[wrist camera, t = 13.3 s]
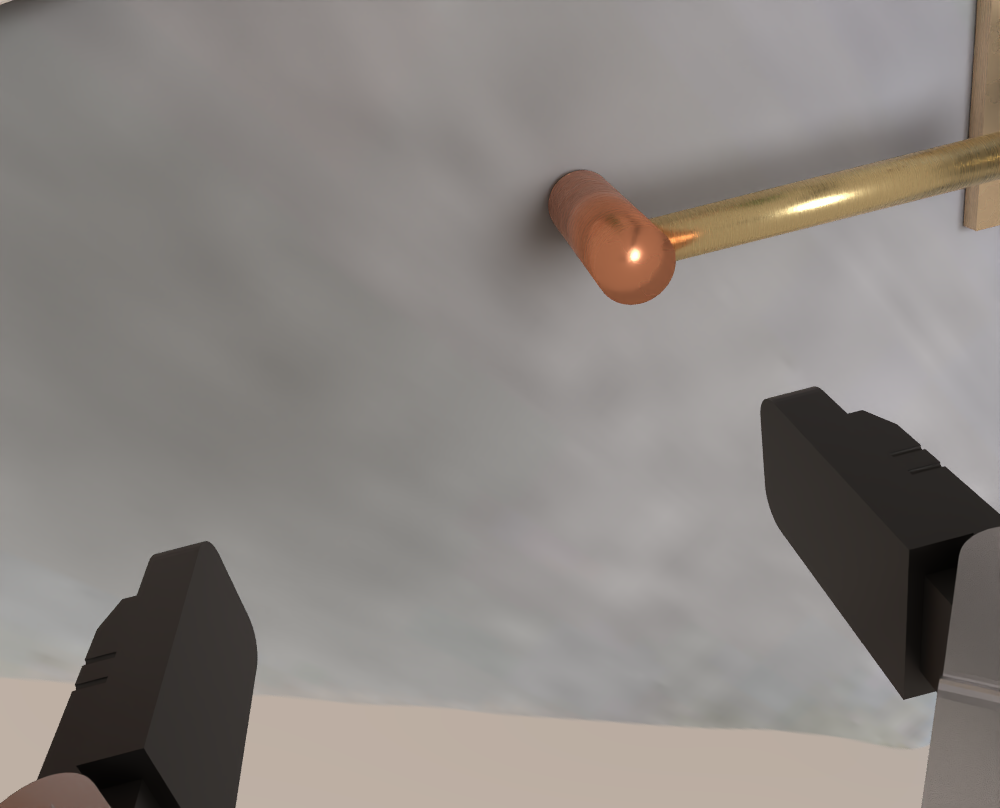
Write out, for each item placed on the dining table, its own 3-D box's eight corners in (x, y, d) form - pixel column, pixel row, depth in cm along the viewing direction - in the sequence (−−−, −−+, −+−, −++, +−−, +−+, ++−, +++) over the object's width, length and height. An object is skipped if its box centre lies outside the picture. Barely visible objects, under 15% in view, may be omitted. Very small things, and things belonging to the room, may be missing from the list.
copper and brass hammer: (554, 242, 39) (602, 313, 31) (542, 178, 38) (589, 236, 30) (975, 136, 40) (1125, 181, 32) (979, 70, 38) (1137, 99, 31)
